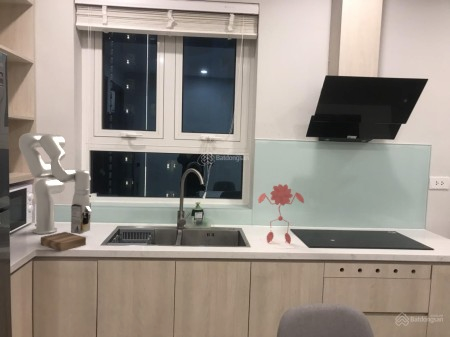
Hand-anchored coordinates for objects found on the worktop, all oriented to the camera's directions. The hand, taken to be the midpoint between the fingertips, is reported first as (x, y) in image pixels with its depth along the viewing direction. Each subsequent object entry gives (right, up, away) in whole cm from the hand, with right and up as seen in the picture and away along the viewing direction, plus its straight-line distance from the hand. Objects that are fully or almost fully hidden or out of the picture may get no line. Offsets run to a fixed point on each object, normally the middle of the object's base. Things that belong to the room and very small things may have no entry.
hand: (80, 222), depth 196 cm
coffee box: (0, -5, 0) cm, 5 cm away
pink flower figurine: (+113, -13, +1) cm, 114 cm away
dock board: (-3, -9, -14) cm, 17 cm away
